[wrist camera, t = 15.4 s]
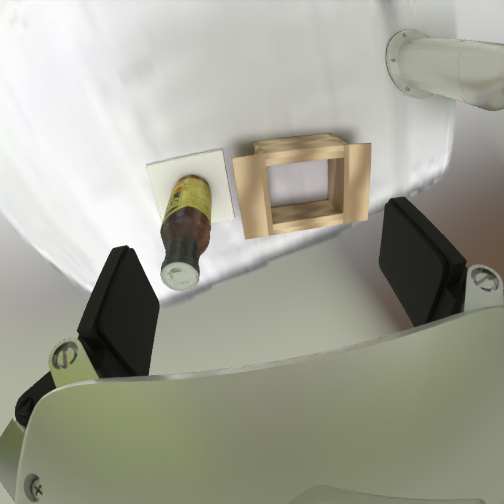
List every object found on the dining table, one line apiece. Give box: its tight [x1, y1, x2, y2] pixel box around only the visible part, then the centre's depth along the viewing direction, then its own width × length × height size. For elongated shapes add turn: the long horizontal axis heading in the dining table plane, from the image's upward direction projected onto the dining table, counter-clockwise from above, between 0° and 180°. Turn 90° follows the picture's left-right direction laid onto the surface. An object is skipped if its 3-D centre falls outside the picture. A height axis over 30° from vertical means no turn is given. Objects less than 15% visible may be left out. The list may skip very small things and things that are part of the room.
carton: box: [232, 134, 371, 240], centre depth 43 cm, size 20×13×7 cm, turn 97°
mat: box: [145, 149, 235, 224], centre depth 45 cm, size 12×12×1 cm
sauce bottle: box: [160, 175, 212, 291], centre depth 37 cm, size 7×6×20 cm
